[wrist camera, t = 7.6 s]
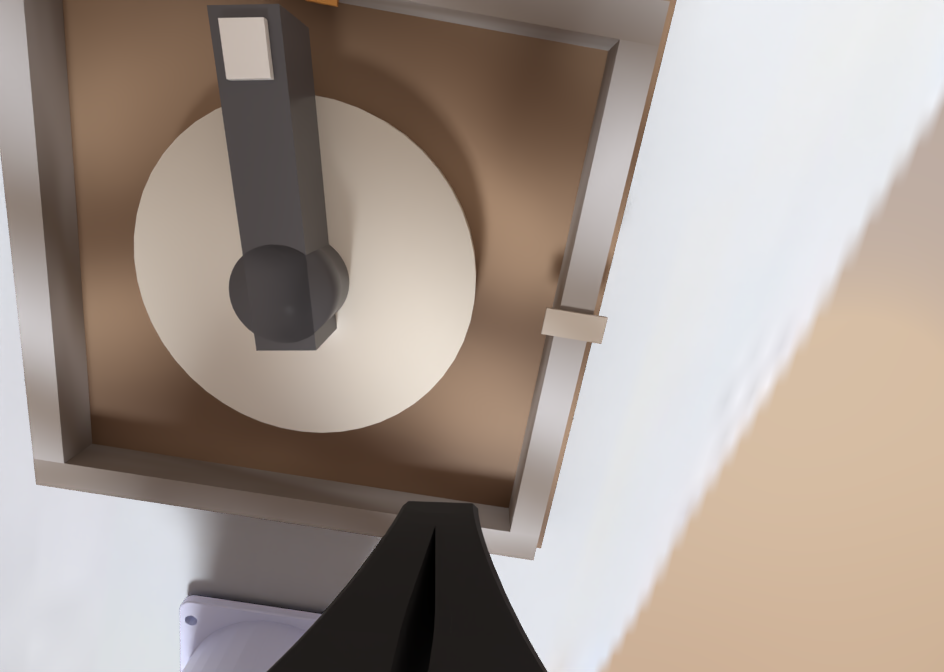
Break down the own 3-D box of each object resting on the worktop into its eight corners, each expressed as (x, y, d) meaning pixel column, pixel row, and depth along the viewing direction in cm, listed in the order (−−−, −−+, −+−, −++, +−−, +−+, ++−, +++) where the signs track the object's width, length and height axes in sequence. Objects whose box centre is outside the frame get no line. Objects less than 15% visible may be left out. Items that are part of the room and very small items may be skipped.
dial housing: (536, 522, 21) (544, 576, 18) (83, 452, 20) (19, 496, 17) (658, 14, 15) (697, -20, 13) (43, -98, 15) (-60, -161, 12)
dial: (477, 418, 18) (475, 471, 14) (185, 418, 18) (123, 469, 15) (474, 34, 14) (471, -3, 11) (112, 41, 14) (11, 5, 11)
